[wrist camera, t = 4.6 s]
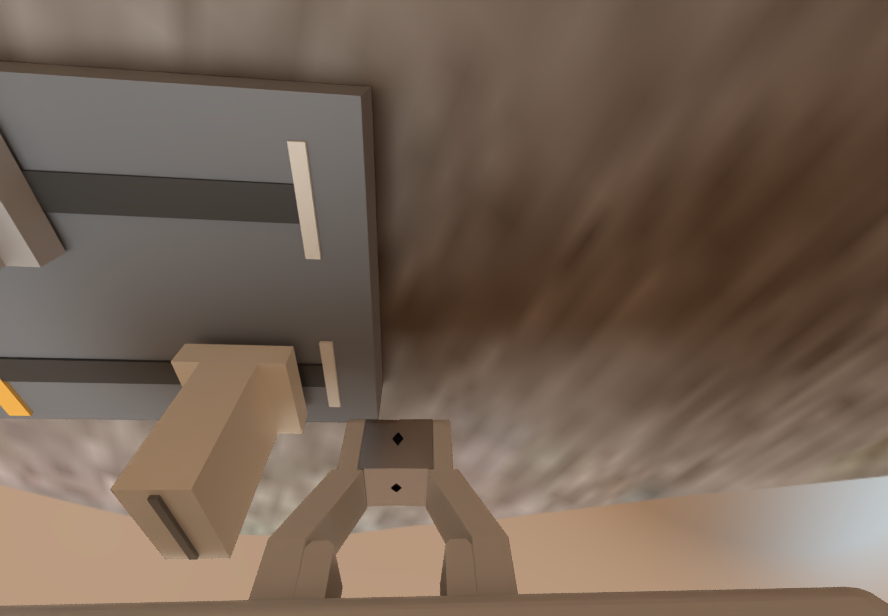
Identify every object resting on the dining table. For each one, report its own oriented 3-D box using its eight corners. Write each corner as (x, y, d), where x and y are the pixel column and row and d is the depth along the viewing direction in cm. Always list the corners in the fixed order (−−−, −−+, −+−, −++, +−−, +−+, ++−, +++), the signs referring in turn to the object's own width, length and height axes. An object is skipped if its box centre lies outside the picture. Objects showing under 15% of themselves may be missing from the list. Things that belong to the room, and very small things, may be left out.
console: (371, 86, 10) (304, 144, 5) (382, 384, 16) (360, 559, 11) (-321, 38, 9) (-1508, 37, 3) (-24, 376, 15) (-278, 566, 10)
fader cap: (293, 346, 12) (228, 494, 8) (307, 414, 14) (260, 562, 10) (185, 343, 12) (65, 494, 8) (214, 413, 13) (129, 563, 10)
